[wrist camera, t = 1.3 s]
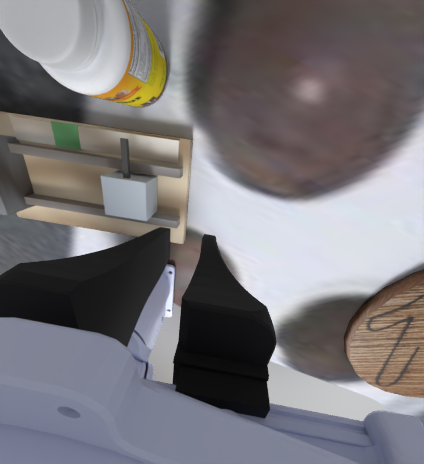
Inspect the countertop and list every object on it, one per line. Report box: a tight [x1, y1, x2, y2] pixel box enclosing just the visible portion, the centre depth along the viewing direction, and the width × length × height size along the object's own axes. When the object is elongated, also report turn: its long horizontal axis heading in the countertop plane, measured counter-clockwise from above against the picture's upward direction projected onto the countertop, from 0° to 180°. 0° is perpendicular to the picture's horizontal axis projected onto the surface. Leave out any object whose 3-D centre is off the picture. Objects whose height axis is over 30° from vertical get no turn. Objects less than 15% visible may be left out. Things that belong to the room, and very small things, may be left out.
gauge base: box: [0, 111, 193, 244], centre depth 20 cm, size 11×20×4 cm, turn 83°
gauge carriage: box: [101, 138, 157, 221], centre depth 18 cm, size 7×4×3 cm, turn 173°
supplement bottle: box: [0, 0, 169, 107], centre depth 12 cm, size 6×6×10 cm
